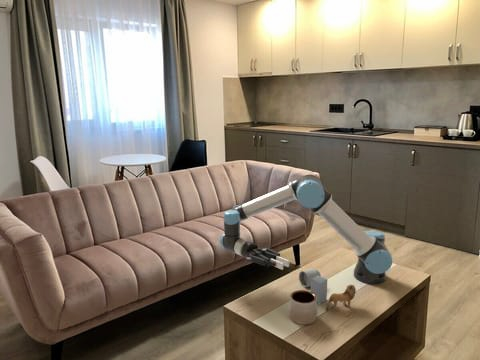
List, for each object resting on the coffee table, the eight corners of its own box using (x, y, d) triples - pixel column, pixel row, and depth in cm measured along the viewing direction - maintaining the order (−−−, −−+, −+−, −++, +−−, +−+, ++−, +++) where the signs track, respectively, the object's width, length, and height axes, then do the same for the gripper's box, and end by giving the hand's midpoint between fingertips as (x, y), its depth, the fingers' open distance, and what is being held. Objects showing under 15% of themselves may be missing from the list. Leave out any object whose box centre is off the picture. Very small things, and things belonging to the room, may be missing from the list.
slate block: (310, 299, 173) (311, 279, 171) (317, 295, 177) (317, 275, 174) (319, 304, 170) (320, 282, 167) (326, 299, 173) (327, 279, 171)
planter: (289, 324, 155) (289, 302, 153) (289, 309, 166) (290, 289, 164) (317, 326, 154) (317, 304, 152) (315, 311, 164) (316, 290, 162)
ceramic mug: (321, 285, 185) (322, 270, 184) (307, 290, 182) (308, 274, 180) (308, 277, 194) (308, 262, 193) (294, 280, 191) (294, 266, 189)
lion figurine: (349, 300, 172) (350, 281, 170) (358, 305, 168) (359, 286, 166) (322, 308, 166) (323, 289, 164) (330, 314, 162) (331, 294, 160)
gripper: (258, 251, 185) (297, 267, 168) (233, 262, 174) (272, 279, 158) (258, 236, 183) (298, 251, 166) (233, 246, 173) (272, 262, 156)
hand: (285, 265), depth 162 cm, fingers open, 3 cm apart
